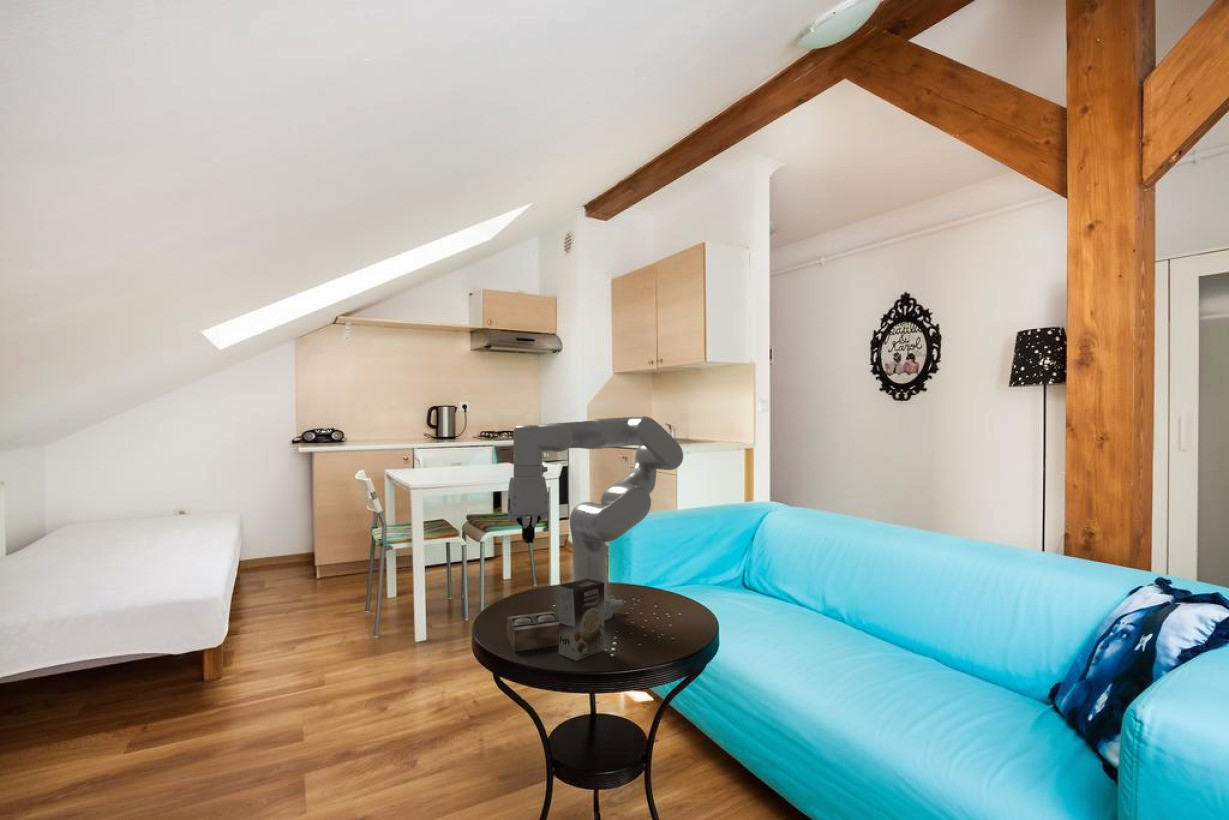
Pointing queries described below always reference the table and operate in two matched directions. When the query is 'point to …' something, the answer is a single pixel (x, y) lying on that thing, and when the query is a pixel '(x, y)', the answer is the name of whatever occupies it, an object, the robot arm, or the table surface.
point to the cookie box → (581, 618)
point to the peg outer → (522, 621)
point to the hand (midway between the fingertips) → (528, 542)
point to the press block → (533, 632)
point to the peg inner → (546, 618)
